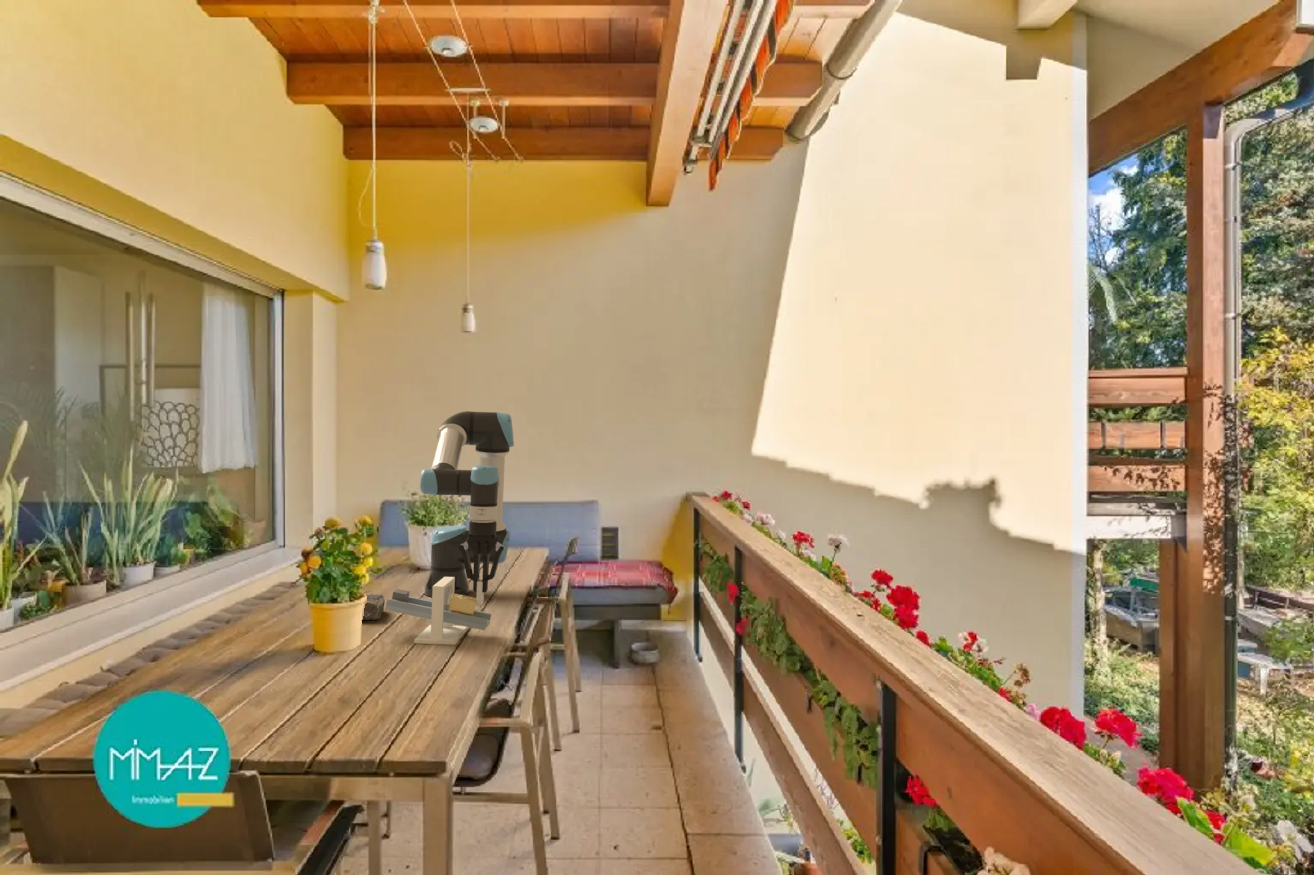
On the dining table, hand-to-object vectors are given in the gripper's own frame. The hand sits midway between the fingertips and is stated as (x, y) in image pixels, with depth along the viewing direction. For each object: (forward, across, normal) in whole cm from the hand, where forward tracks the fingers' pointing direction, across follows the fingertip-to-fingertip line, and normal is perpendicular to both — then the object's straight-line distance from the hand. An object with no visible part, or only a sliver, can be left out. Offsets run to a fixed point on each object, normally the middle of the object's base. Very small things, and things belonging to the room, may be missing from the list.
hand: (479, 603), depth 194 cm
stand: (+10, -10, 0) cm, 14 cm away
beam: (+4, -11, 0) cm, 12 cm away
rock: (+10, -38, +17) cm, 43 cm away
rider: (+4, -5, 0) cm, 6 cm away
